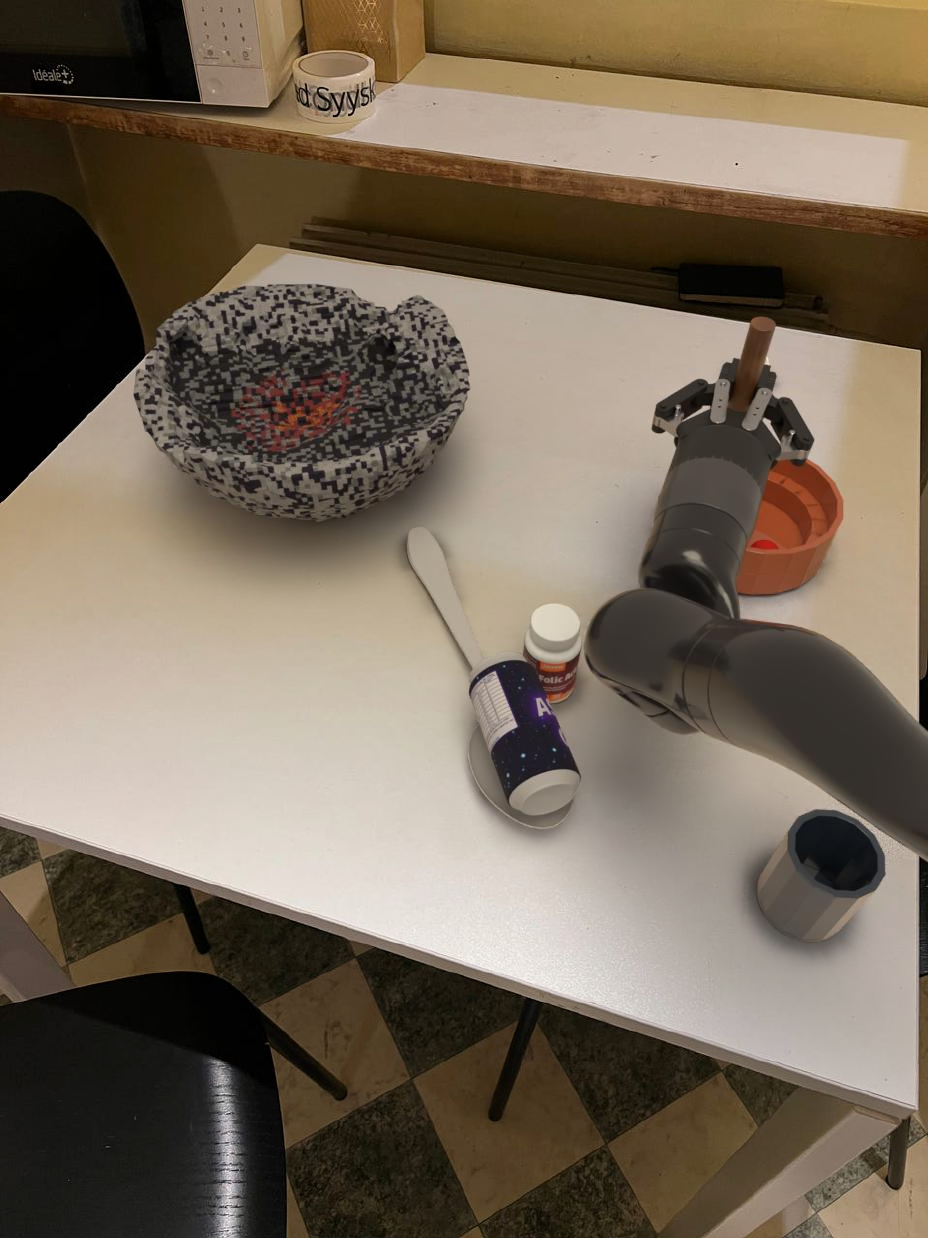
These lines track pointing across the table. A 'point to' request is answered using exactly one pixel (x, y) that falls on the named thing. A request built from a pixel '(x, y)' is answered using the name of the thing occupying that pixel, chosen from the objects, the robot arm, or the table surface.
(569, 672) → the pill bottle
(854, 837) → the holder
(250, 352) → the bowl
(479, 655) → the spoon
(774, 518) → the stew bowl
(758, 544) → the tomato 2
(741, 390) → the stick
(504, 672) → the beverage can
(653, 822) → the table surface
